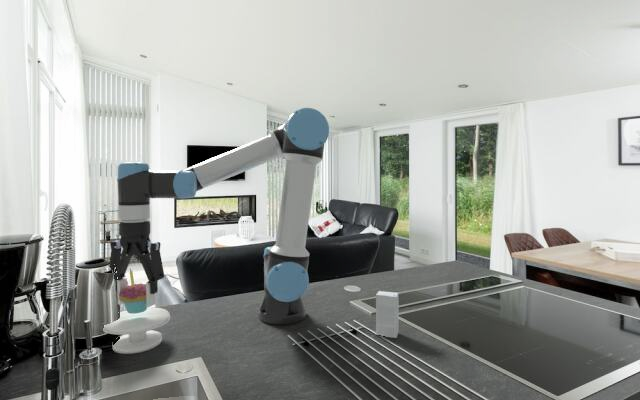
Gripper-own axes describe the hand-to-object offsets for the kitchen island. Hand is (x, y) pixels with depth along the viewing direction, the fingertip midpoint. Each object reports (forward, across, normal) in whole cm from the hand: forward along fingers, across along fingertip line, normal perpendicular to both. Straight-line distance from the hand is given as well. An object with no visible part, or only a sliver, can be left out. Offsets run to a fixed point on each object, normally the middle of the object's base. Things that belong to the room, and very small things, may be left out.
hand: (136, 304), depth 100 cm
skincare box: (+11, -66, -21) cm, 70 cm away
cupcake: (+2, 0, 0) cm, 2 cm away
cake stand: (+11, 0, 0) cm, 11 cm away
